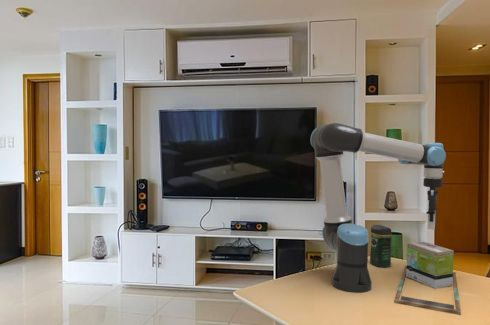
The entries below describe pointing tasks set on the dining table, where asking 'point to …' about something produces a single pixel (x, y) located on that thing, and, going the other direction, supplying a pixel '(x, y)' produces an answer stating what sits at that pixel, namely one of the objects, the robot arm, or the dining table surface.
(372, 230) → the coffee jar
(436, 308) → the tray
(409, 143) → the robot arm
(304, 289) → the dining table surface
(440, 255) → the tea box
